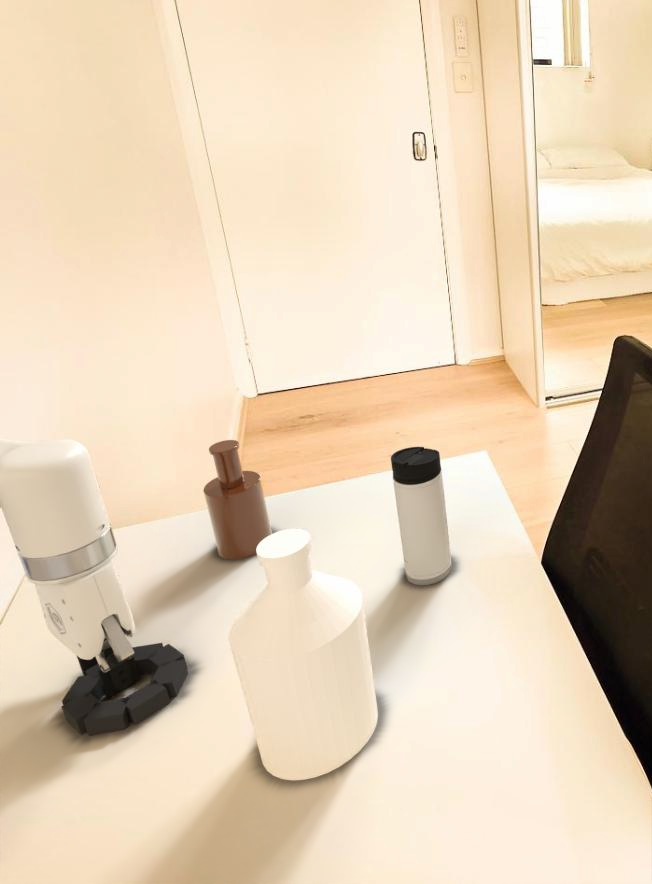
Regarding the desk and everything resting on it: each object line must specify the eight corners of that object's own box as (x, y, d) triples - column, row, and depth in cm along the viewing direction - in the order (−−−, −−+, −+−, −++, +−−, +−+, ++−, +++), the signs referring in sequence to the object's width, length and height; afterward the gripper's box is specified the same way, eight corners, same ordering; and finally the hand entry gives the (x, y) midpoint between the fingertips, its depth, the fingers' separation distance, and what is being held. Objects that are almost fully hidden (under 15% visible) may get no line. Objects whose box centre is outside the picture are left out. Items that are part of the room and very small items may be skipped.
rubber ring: (97, 751, 72) (91, 735, 72) (52, 708, 77) (46, 692, 76) (204, 682, 81) (200, 666, 80) (158, 647, 86) (153, 632, 85)
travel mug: (394, 581, 98) (377, 459, 91) (425, 553, 104) (411, 437, 97) (431, 592, 96) (416, 468, 90) (460, 563, 102) (449, 445, 95)
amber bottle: (235, 566, 100) (211, 463, 94) (208, 550, 103) (183, 449, 97) (283, 540, 106) (263, 442, 100) (256, 526, 109) (235, 429, 103)
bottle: (248, 800, 68) (194, 597, 60) (268, 705, 78) (225, 520, 70) (379, 762, 72) (346, 567, 64) (382, 676, 83) (354, 498, 74)
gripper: (-9, 543, 75) (39, 672, 81) (62, 600, 68) (110, 737, 74) (76, 509, 81) (115, 631, 87) (150, 558, 74) (187, 687, 80)
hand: (112, 678), depth 81 cm, fingers open, 4 cm apart
